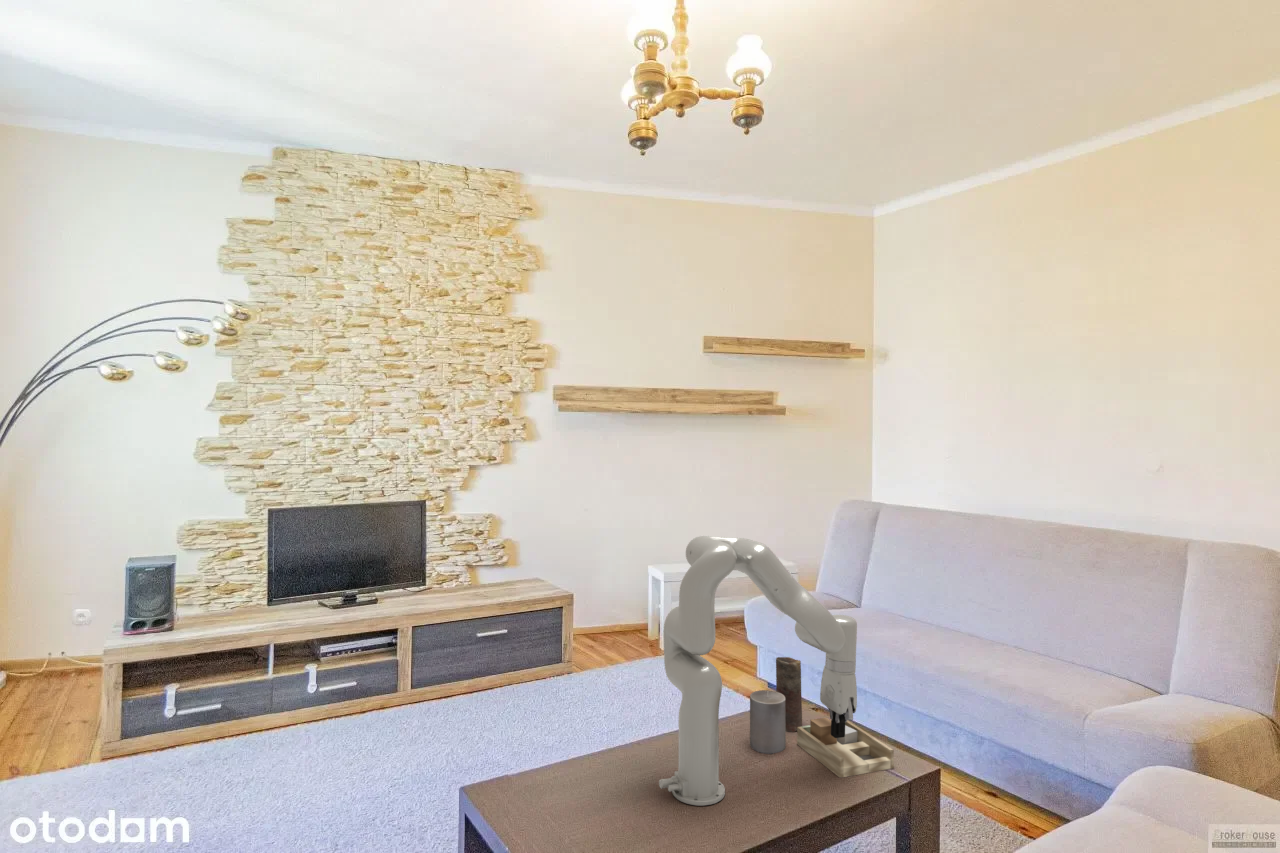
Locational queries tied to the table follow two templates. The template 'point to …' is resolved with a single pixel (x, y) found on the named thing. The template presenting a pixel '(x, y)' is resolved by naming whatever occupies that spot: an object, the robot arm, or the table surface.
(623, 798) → the table surface
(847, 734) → the trapped grey block
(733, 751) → the table surface
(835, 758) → the tray
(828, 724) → the walnut block
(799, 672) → the brown wooden cylinder
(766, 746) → the pillar candle
